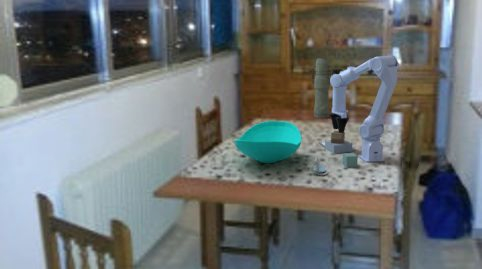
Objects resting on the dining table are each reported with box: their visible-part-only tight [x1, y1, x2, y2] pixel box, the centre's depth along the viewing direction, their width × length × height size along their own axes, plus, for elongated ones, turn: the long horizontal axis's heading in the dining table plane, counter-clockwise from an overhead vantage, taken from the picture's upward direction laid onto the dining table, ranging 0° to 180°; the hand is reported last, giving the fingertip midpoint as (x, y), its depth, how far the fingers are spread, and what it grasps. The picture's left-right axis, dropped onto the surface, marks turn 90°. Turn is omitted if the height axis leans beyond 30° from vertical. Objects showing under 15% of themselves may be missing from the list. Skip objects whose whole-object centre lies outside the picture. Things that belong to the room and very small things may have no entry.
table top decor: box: [233, 120, 303, 164], centre depth 222 cm, size 40×28×13 cm
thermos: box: [311, 56, 333, 119], centre depth 306 cm, size 9×12×35 cm
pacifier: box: [311, 157, 329, 176], centre depth 204 cm, size 7×6×6 cm
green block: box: [342, 152, 359, 168], centre depth 213 cm, size 5×5×5 cm
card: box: [318, 141, 325, 148], centre depth 247 cm, size 8×8×1 cm
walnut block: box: [330, 130, 346, 144], centre depth 236 cm, size 5×5×5 cm
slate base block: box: [324, 139, 353, 154], centre depth 237 cm, size 9×9×4 cm
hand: (338, 130), depth 235 cm, fingers open, 7 cm apart
